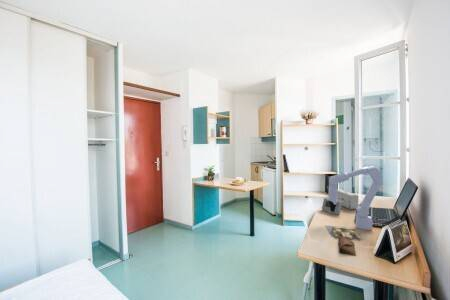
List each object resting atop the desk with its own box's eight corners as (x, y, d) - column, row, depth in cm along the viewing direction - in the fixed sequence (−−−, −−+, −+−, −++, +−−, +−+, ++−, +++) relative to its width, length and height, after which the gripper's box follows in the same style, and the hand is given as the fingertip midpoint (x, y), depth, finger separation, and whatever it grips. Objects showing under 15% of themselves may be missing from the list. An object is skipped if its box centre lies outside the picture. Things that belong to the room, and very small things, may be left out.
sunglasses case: (357, 256, 117) (350, 244, 118) (344, 260, 120) (337, 248, 121) (354, 242, 133) (348, 232, 134) (343, 246, 136) (337, 235, 137)
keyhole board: (352, 228, 153) (353, 223, 153) (363, 241, 134) (363, 235, 134) (324, 226, 157) (325, 221, 157) (331, 238, 139) (331, 232, 138)
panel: (354, 233, 144) (355, 228, 144) (360, 240, 134) (360, 235, 134) (331, 231, 147) (331, 226, 147) (335, 237, 137) (335, 232, 137)
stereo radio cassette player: (358, 209, 194) (359, 187, 193) (350, 210, 193) (350, 187, 192) (342, 202, 215) (343, 182, 214) (334, 203, 214) (335, 182, 213)
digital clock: (320, 209, 194) (320, 197, 193) (328, 208, 197) (328, 196, 196) (335, 215, 179) (336, 202, 178) (344, 214, 182) (344, 201, 181)
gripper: (324, 190, 168) (324, 207, 169) (329, 195, 154) (328, 214, 155) (334, 190, 167) (334, 208, 167) (340, 195, 153) (339, 215, 153)
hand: (332, 211), depth 161 cm, fingers closed
